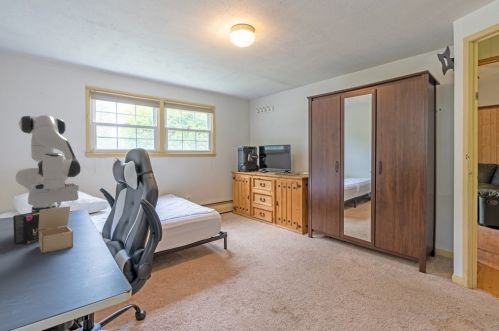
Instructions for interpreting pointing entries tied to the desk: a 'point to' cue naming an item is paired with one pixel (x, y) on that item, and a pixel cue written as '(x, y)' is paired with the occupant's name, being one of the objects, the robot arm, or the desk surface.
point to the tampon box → (26, 228)
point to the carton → (55, 239)
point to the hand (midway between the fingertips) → (54, 211)
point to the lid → (53, 217)
